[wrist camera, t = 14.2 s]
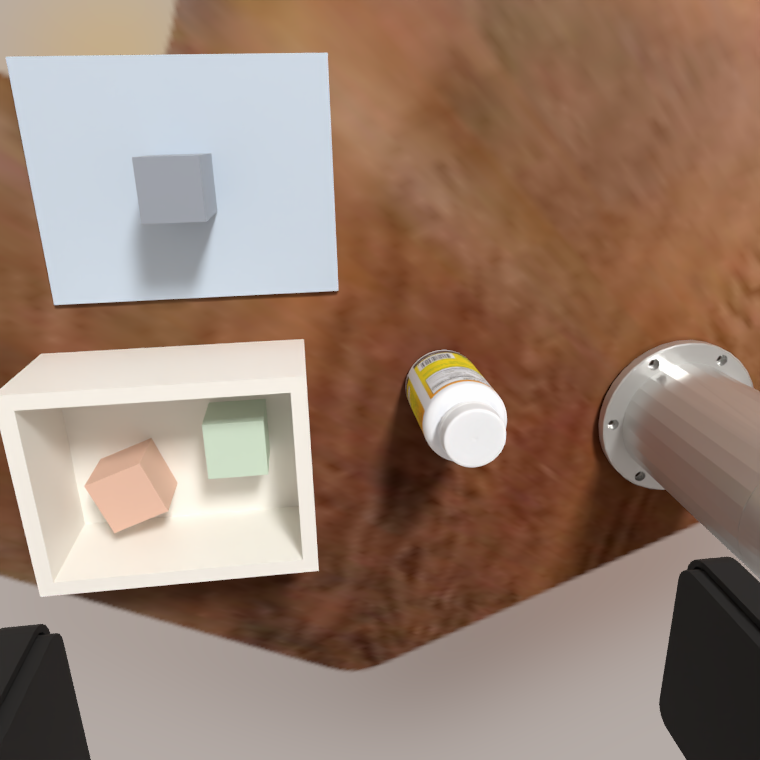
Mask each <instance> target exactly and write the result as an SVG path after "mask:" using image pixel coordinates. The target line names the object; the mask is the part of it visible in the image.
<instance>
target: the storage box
mask: <svg viewBox="0 0 760 760" xmlns="http://www.w3.org/2000/svg"><path fill="white" fill-rule="evenodd" d="M255 399H266V408H267V420H268V431H269V443H270V457H269V471H268V475H256V476H243V477H230V478H218V479H208V471H207V463H206V455H205V447H204V439H203V431H202V423H203V420H204V416H205V413H206V410H207V407H208V404H209V402H224V401H240V400H255ZM0 431H1V435H2V439H3V443H4V448H5V452H6V456H7V460H8V464H9V468H10V473H11V477H12V481H13V485H14V489H15V493H16V498H17V502H18V506H19V510H20V514H21V519H22V523H23V527H24V531H25V535H26V539H27V544H28V548H29V552H30V556H31V560H32V564H33V569H34V573H35V577H36V581H37V585H38V589H39V593H40V597H46V596H56V595H67V594H77V593H88V592H99V591H109V590H120V589H131V588H141V587H152V586H162V585H173V584H184V583H194V582H205V581H216V580H226V579H237V578H247V577H258V576H269V575H279V574H290V573H301V572H311V571H319V568H318V552H317V535H316V519H315V503H314V488H313V472H312V457H311V441H310V426H309V410H308V395H307V379H306V364H305V348H304V339H296V340H279V341H261V342H243V343H226V344H208V345H190V346H173V347H155V348H137V349H120V350H102V351H84V352H67V353H49V354H40V355H39V356H38V357H37V358H36V359H35V360H33V361H32V362H31V363H30V364H29V365H28V366H26V367H25V368H24V369H23V370H22V371H21V372H19V373H18V374H17V375H16V376H15V377H14V378H12V379H11V380H10V381H9V382H8V383H7V384H5V385H4V386H3V387H2V388H1V389H0ZM150 438H152V440H153V441H154V443H155V445H156V447H157V448H158V450H159V452H160V453H161V455H162V457H163V459H164V460H165V462H166V464H167V465H168V467H169V469H170V471H171V472H172V474H173V476H174V477H175V479H176V481H177V486H176V489H175V492H174V495H173V498H172V502H171V505H170V508H169V511H167V512H165V513H163V514H160V515H158V516H155V517H153V518H150V519H148V520H145V521H143V522H141V523H138V524H136V525H133V526H131V527H128V528H126V529H124V530H121V531H119V532H116V533H114V532H113V530H112V528H111V527H110V525H109V524H108V522H107V521H106V519H105V518H104V516H103V515H102V513H101V511H100V510H99V508H98V507H97V505H96V504H95V502H94V501H93V499H92V498H91V496H90V495H89V493H88V491H87V490H86V488H85V487H84V486H85V484H86V482H87V481H88V479H89V477H90V476H91V474H92V472H93V471H94V469H95V467H96V466H97V464H98V462H99V461H100V459H102V458H104V457H107V456H109V455H112V454H114V453H116V452H119V451H121V450H124V449H126V448H129V447H131V446H133V445H136V444H138V443H141V442H143V441H145V440H148V439H150Z"/></svg>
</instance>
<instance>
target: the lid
mask: <svg viewBox="0 0 760 760" xmlns="http://www.w3.org/2000/svg"><path fill="white" fill-rule="evenodd" d="M6 62H7V67H8V72H9V77H10V82H11V87H12V92H13V97H14V102H15V108H16V113H17V118H18V123H19V128H20V133H21V138H22V143H23V148H24V153H25V158H26V164H27V169H28V174H29V179H30V184H31V189H32V194H33V199H34V204H35V209H36V215H37V220H38V225H39V230H40V235H41V240H42V245H43V250H44V255H45V260H46V265H47V271H48V276H49V281H50V286H51V291H52V296H53V301H54V305H65V304H85V303H105V302H125V301H145V300H165V299H185V298H204V297H224V296H244V295H264V294H284V293H304V292H324V291H338V269H337V247H336V226H335V204H334V182H333V161H332V139H331V117H330V96H329V74H328V53H267V54H185V55H110V56H109V55H106V56H104V55H103V56H25V57H24V56H23V57H22V56H19V57H6Z"/></svg>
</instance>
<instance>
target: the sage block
mask: <svg viewBox="0 0 760 760" xmlns="http://www.w3.org/2000/svg"><path fill="white" fill-rule="evenodd" d="M202 431H203V439H204V447H205V455H206V463H207V471H208V479H218V478H230V477H243V476H256V475H268V471H269V457H270V443H269V431H268V420H267V408H266V399H255V400H240V401H224V402H209V404H208V407H207V410H206V413H205V416H204V420H203V423H202Z"/></svg>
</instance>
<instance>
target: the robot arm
mask: <svg viewBox="0 0 760 760" xmlns="http://www.w3.org/2000/svg"><path fill="white" fill-rule="evenodd" d="M650 361H651V362H650ZM598 426H599V439H600V443H601V447H602V450H603V452H604V454H605V456H606V458H607V460H608V461H609V463H610V464H611V465H612V466H613V467H614V468H615V469H616V471H618V472H619V473H620V474H621V475H622V476H623V477H624V478H625V479H627V480H628V481H630V482H632V483H634V484H636V485H638V486H642V487H645V488H648V489H657V490H666V491H667V492H668V493H669V494H671V495H672V496H673V497H674V498H675V499H676V500H677V501H678V502H679V503H680V504H681V505H682V506H683V507H684V508H685V509H686V510H687V511H689V512H690V513H691V514H692V515H693V516H694V517H695V518H696V519H697V520H698V521H699V522H700V523H701V524H702V525H703V526H705V527H706V528H707V529H708V530H709V531H710V532H711V533H712V534H713V535H714V536H715V537H716V538H717V539H718V540H719V541H720V542H721V543H722V544H724V545H725V546H726V547H727V548H728V549H729V550H730V551H731V552H732V553H733V554H734V555H735V556H736V557H737V558H738V559H739V560H741V561H742V562H743V563H744V564H745V565H746V566H747V567H748V568H749V569H750V570H751V571H752V572H753V573H754V574H755V575H756V576H757V577H758V578H759V579H760V391H758V390H756V389H754V388H753V383H752V381H751V378H750V376H749V374H748V371H747V370H746V369H745V367H744V366H743V364H742V363H741V362H740V361H739V360H738V359H737V358H736V357H735V356H733V355H732V354H731V353H730V352H728V351H726V350H724V349H722V348H720V347H718V346H716V345H713V344H710V343H708V342H704V341H697V340H681V341H674V342H670V343H666V344H662V345H660V346H658V347H655V348H653V349H651V350H649V351H647V352H645V353H644V354H642V355H641V356H639V357H638V358H636V359H635V360H633V361H632V362H631V363H630V364H629V365H628V366H627V367H626V368H625V369H624V370H623V371H622V372H621V373H620V374H619V376H618V377H617V378H616V379H615V381H614V382H613V383H612V385H611V387H610V389H609V391H608V392H607V394H606V396H605V399H604V402H603V404H602V407H601V410H600V417H599V424H598ZM659 705H660V712H661V716H662V719H663V722H664V724H665V726H666V728H667V729H668V731H669V733H670V734H671V736H672V737H673V739H674V741H675V742H676V744H677V745H678V747H679V748H680V750H681V752H682V753H683V755H684V756H685V758H686V760H760V582H759V581H758V580H757V579H756V578H754V577H753V576H752V575H751V574H750V573H749V572H748V571H747V570H746V569H745V568H744V567H743V566H742V565H741V564H740V563H738V561H736V560H735V559H733V558H731V557H720V558H709V559H700V560H694V561H692V562H691V563H690V564H689V566H688V569H687V570H685V571H683V572H681V574H680V576H679V580H678V586H677V593H676V599H675V606H674V612H673V619H672V625H671V631H670V637H669V643H668V650H667V656H666V663H665V669H664V675H663V682H662V688H661V694H660V703H659ZM0 760H91V759H90V755H89V750H88V746H87V742H86V737H85V733H84V729H83V725H82V720H81V716H80V712H79V707H78V703H77V699H76V694H75V690H74V686H73V682H72V677H71V673H70V669H69V664H68V660H67V655H66V651H65V647H64V643H63V639H62V637H61V636H60V634H57V633H55V634H50V632H49V629H48V628H47V626H46V625H43V624H38V625H28V626H18V627H8V628H1V629H0Z"/></svg>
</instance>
